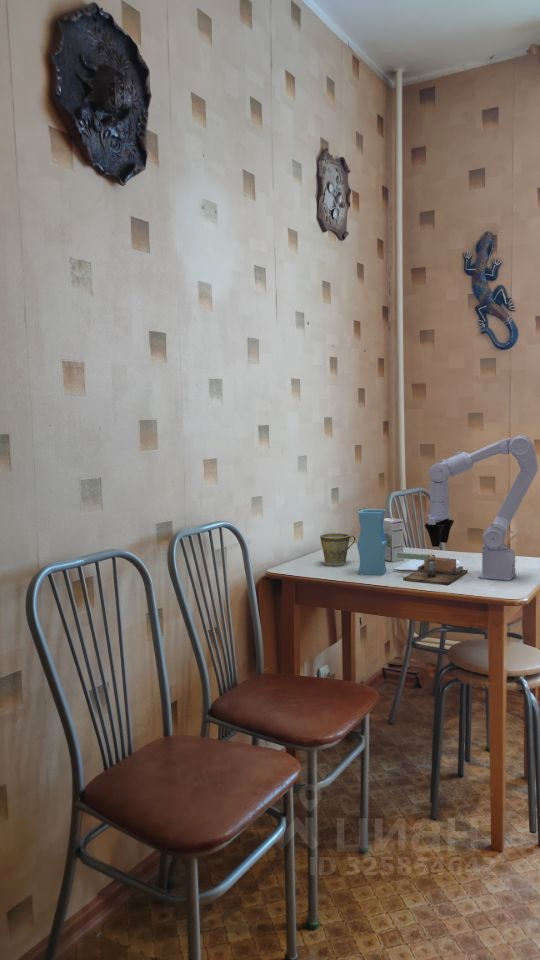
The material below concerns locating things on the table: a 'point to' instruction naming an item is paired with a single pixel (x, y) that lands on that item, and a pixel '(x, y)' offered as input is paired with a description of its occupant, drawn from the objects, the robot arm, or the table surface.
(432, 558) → the keeper bar
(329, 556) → the ceramic cup
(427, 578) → the keeper board
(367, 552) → the vase
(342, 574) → the table surface
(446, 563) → the brown rectangular block
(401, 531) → the syrup box
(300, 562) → the table surface
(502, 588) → the table surface
